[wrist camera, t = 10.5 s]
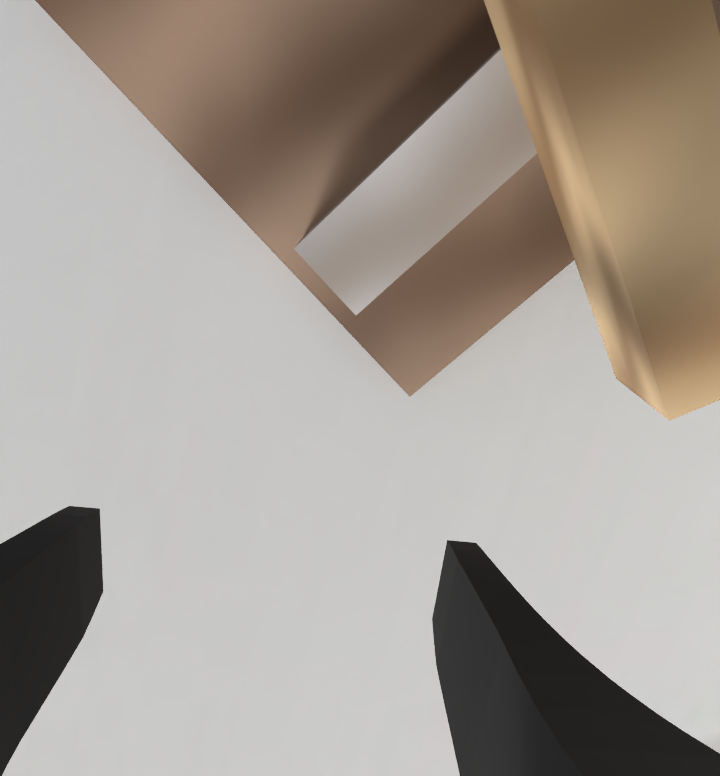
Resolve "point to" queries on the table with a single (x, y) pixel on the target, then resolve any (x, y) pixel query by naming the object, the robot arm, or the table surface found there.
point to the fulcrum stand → (352, 152)
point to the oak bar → (632, 174)
